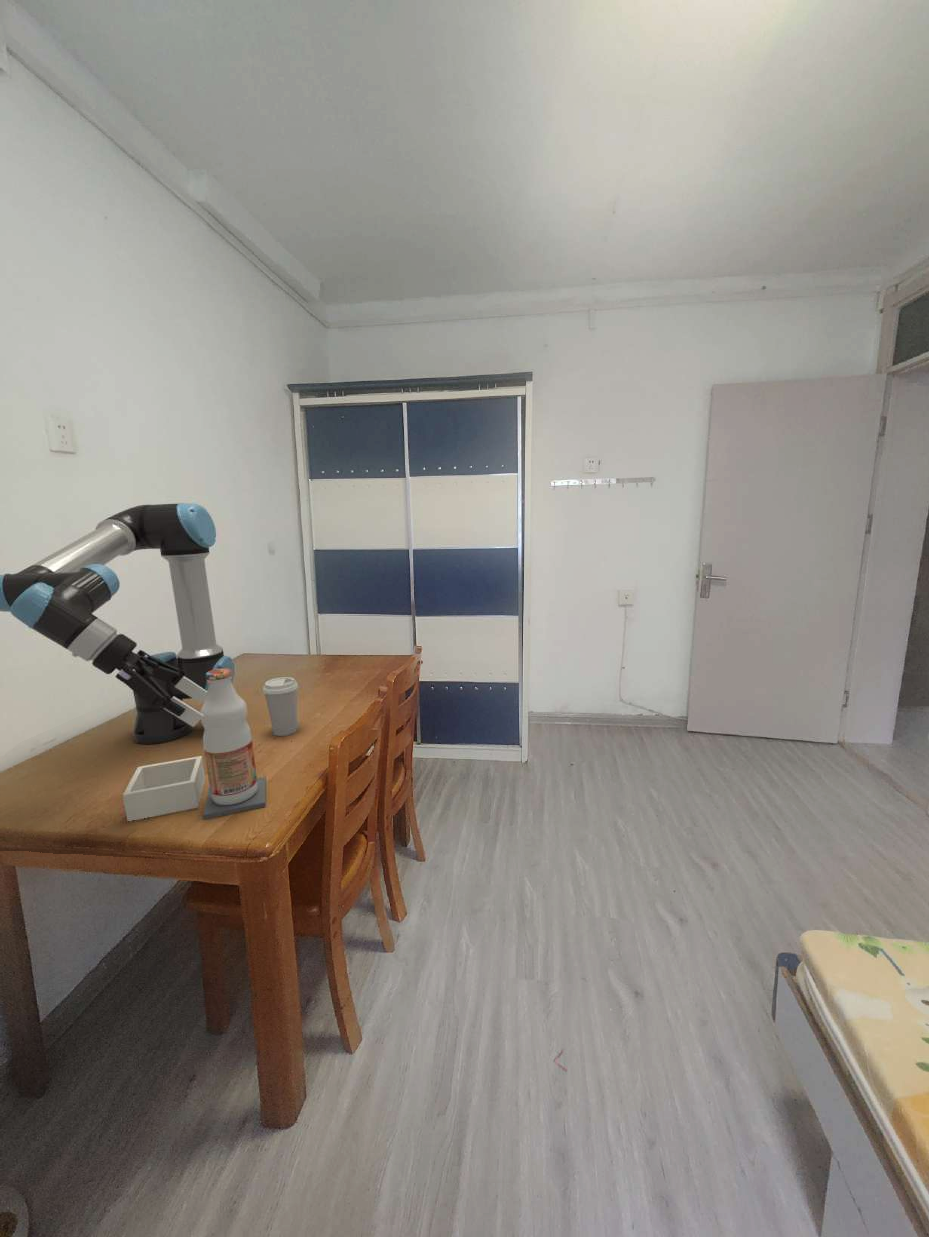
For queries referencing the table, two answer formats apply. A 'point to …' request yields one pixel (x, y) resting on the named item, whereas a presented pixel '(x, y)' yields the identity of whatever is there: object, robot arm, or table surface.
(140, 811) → the frame
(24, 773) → the table surface
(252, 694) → the table surface
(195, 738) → the table surface
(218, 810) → the mat
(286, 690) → the coffee cup
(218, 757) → the fruit juice
